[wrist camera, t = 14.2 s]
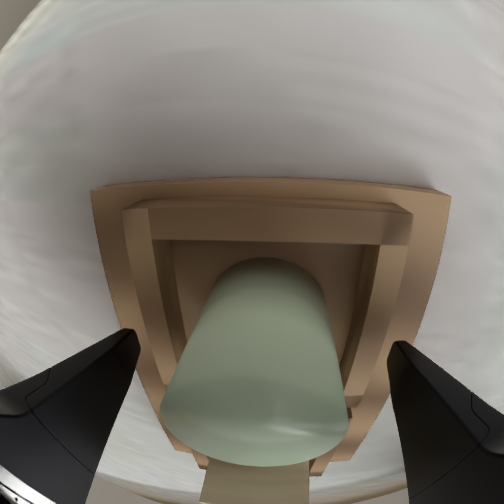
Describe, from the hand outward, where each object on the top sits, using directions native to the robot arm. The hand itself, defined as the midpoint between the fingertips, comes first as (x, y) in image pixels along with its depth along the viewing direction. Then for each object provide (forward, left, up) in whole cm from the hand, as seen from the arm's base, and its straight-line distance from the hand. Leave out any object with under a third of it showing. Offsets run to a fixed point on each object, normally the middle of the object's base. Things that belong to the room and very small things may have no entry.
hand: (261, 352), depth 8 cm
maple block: (-10, 0, -2) cm, 10 cm away
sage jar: (0, 0, -2) cm, 2 cm away
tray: (-5, 0, -4) cm, 6 cm away
